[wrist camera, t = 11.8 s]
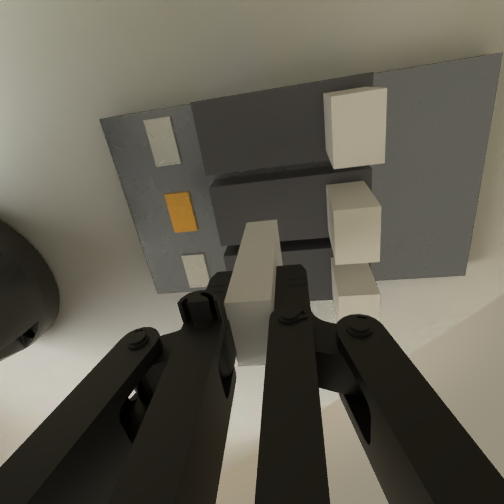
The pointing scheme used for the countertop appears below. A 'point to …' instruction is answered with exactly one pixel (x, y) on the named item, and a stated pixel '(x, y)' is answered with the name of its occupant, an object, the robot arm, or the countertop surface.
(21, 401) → the countertop surface
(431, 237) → the panel
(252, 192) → the breaker housings
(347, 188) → the handle
